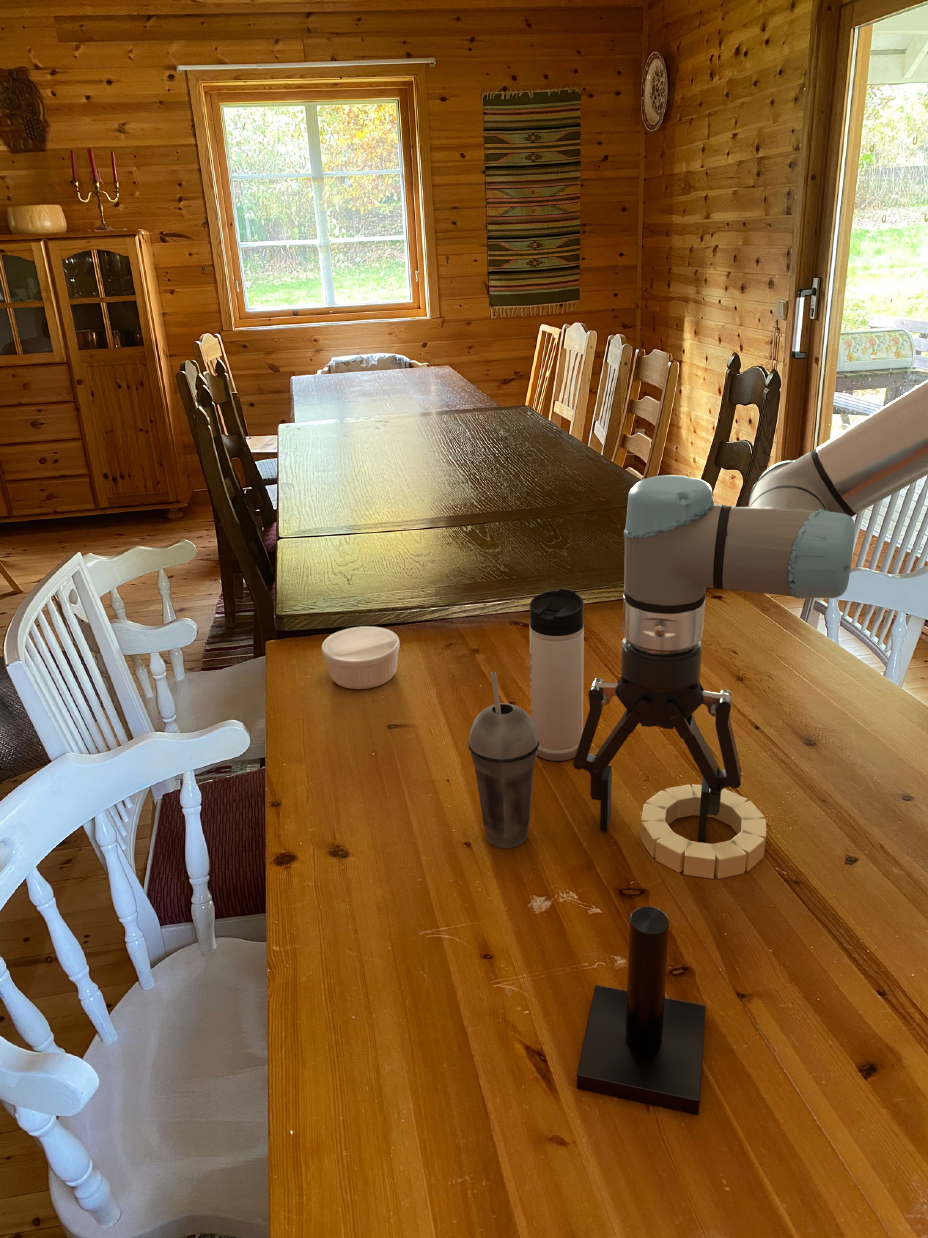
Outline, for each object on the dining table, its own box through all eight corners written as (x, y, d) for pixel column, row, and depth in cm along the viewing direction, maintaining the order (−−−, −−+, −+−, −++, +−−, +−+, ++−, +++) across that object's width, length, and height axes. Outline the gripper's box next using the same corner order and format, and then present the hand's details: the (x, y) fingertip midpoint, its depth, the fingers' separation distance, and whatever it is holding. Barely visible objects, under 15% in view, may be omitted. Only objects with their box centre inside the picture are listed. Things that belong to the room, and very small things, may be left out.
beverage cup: (554, 831, 98) (553, 664, 89) (511, 866, 93) (506, 693, 85) (502, 806, 102) (496, 645, 94) (458, 838, 97) (448, 671, 89)
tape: (763, 811, 99) (765, 792, 98) (764, 887, 88) (766, 867, 87) (648, 796, 103) (648, 778, 102) (634, 867, 92) (635, 848, 91)
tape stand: (704, 1018, 75) (716, 888, 69) (698, 1115, 67) (710, 977, 61) (595, 997, 77) (597, 870, 72) (576, 1088, 69) (577, 953, 64)
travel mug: (591, 740, 114) (594, 592, 105) (569, 767, 109) (570, 613, 100) (546, 729, 117) (545, 583, 108) (522, 754, 112) (519, 604, 103)
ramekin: (371, 701, 125) (368, 666, 123) (308, 683, 131) (304, 650, 129) (417, 667, 134) (414, 634, 132) (356, 652, 139) (353, 620, 137)
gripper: (540, 646, 87) (543, 837, 97) (784, 667, 81) (762, 868, 91) (556, 614, 94) (557, 796, 103) (782, 631, 88) (761, 822, 97)
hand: (652, 829), depth 97 cm, fingers open, 9 cm apart
